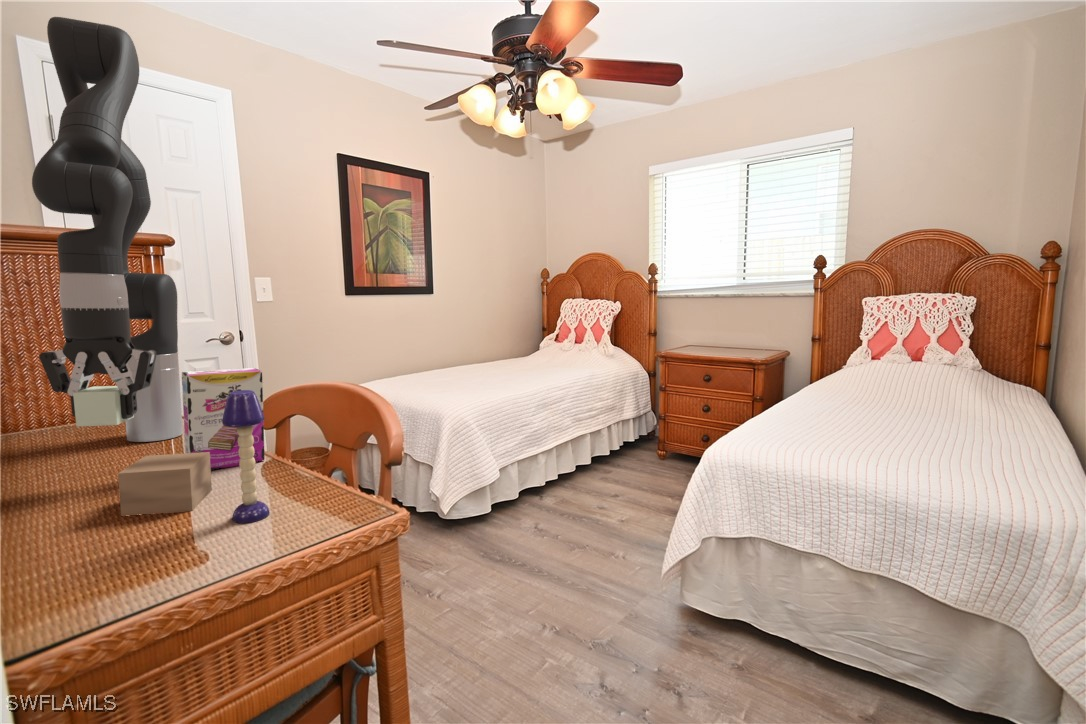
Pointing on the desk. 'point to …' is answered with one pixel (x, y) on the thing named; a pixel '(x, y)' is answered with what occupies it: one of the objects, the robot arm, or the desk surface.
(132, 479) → the walnut block
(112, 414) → the sage block
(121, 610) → the desk surface
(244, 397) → the toy lamp
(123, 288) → the robot arm
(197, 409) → the candy bar box
